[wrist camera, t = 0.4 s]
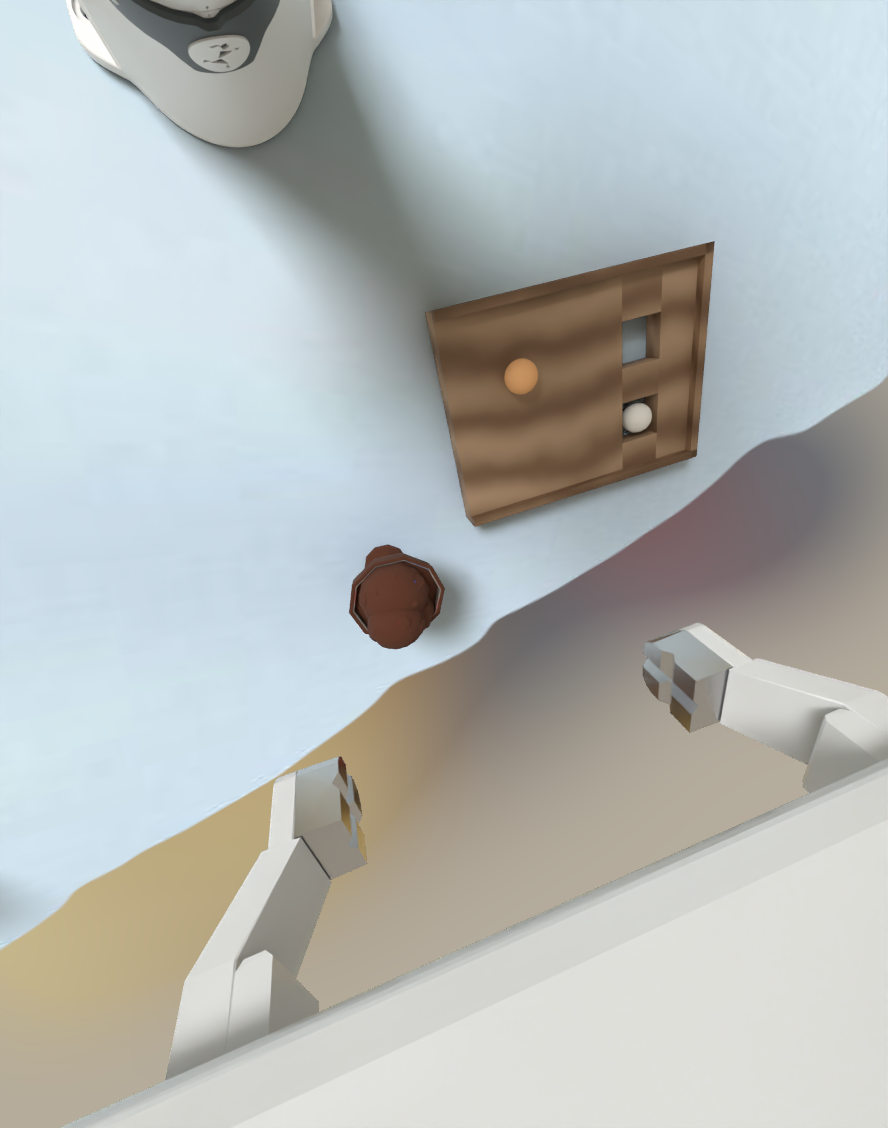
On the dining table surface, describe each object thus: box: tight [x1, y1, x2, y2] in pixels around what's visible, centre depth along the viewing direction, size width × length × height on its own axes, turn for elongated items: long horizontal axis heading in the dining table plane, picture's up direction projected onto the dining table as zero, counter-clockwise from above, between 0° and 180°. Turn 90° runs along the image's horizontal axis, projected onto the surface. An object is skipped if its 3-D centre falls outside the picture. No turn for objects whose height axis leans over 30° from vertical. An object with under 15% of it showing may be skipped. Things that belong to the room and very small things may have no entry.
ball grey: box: [622, 403, 652, 432], centre depth 56 cm, size 4×4×4 cm
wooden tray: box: [425, 241, 715, 527], centre depth 53 cm, size 24×32×4 cm
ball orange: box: [504, 358, 538, 394], centre depth 47 cm, size 4×4×4 cm
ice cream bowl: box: [349, 545, 445, 649], centre depth 52 cm, size 11×11×15 cm
